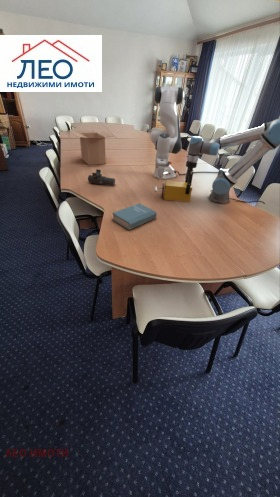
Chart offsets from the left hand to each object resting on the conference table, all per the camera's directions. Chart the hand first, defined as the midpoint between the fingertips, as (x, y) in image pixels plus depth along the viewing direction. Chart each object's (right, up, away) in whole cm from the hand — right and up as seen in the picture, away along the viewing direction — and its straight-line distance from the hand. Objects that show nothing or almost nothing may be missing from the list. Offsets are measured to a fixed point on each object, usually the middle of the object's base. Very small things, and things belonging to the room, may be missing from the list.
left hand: (159, 179), depth 164 cm
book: (-18, -33, -24) cm, 45 cm away
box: (-65, +42, +73) cm, 106 cm away
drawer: (+8, -11, +7) cm, 15 cm away
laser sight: (-47, +3, +21) cm, 52 cm away
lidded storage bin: (+14, -12, +8) cm, 20 cm away
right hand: (+21, -8, +4) cm, 22 cm away
